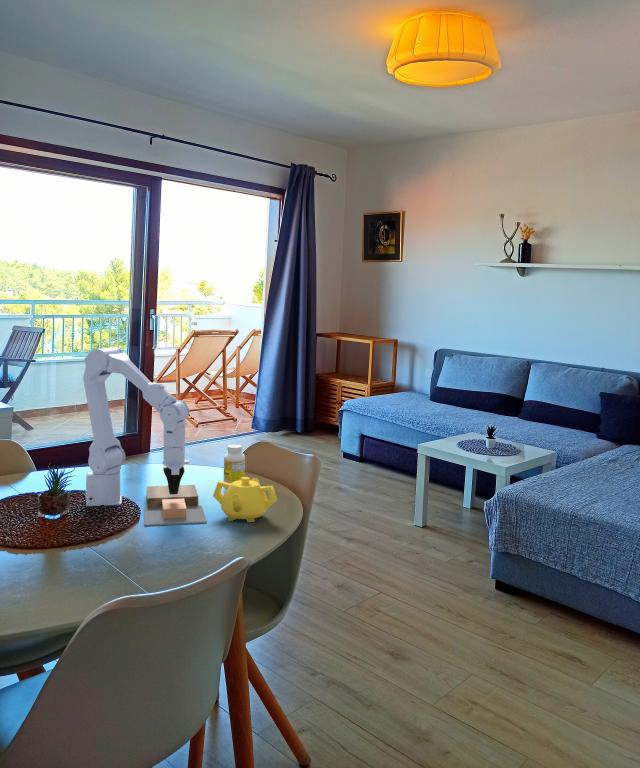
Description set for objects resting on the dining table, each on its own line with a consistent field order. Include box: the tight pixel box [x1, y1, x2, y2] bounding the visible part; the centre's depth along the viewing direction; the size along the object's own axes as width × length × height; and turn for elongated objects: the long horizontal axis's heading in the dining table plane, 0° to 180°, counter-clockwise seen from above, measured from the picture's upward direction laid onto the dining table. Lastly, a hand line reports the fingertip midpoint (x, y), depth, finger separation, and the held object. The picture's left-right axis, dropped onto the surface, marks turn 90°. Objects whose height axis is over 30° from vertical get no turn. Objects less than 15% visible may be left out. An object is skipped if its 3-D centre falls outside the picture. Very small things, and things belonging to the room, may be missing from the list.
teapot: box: [212, 476, 278, 523], centre depth 188 cm, size 20×18×11 cm
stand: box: [146, 484, 199, 508], centre depth 200 cm, size 14×12×3 cm
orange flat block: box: [162, 499, 186, 519], centre depth 189 cm, size 6×9×2 cm, turn 15°
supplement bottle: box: [223, 444, 246, 483], centre depth 218 cm, size 7×7×13 cm
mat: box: [143, 505, 208, 527], centre depth 188 cm, size 16×14×1 cm
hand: (173, 493), depth 191 cm, fingers closed
